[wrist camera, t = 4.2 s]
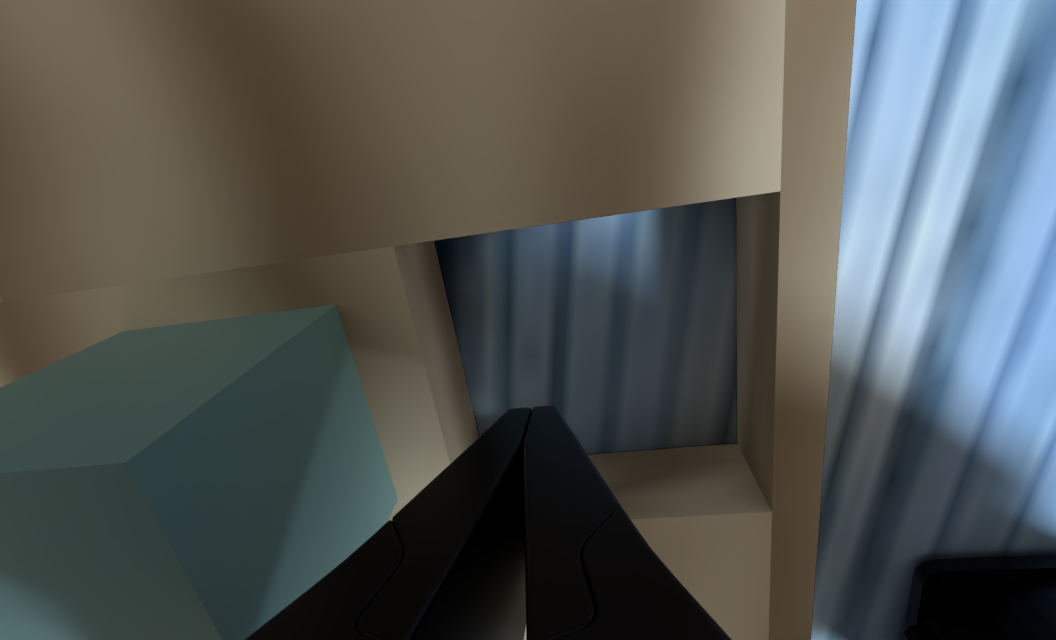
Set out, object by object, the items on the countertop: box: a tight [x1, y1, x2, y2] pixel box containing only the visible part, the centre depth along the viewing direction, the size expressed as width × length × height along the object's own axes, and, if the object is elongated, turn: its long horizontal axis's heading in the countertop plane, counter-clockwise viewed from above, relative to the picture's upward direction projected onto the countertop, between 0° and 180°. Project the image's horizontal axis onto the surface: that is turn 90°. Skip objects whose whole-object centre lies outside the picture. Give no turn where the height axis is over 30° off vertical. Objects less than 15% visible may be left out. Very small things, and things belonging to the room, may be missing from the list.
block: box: [0, 304, 398, 640], centre depth 9 cm, size 5×5×5 cm
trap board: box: [0, 0, 857, 640], centre depth 11 cm, size 26×18×6 cm
